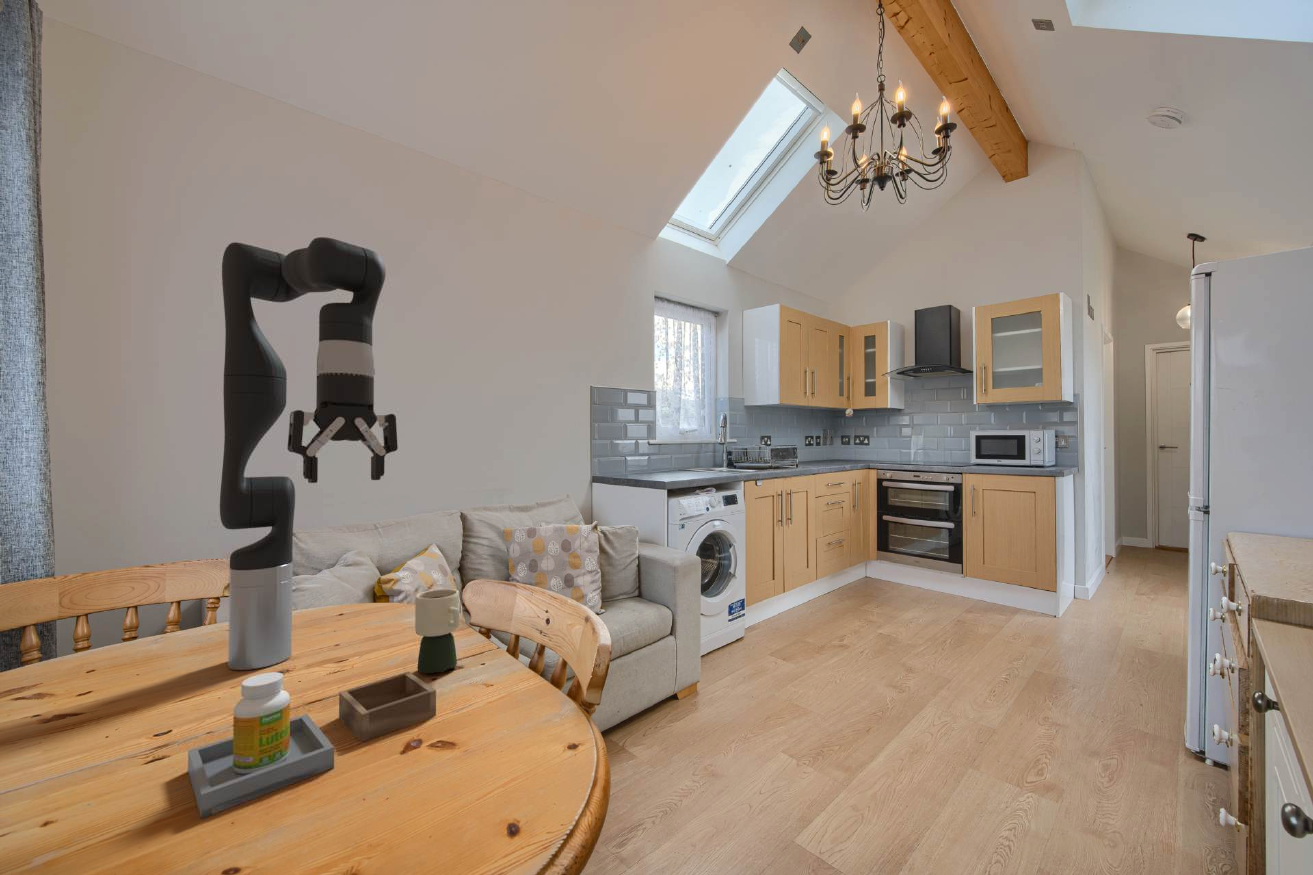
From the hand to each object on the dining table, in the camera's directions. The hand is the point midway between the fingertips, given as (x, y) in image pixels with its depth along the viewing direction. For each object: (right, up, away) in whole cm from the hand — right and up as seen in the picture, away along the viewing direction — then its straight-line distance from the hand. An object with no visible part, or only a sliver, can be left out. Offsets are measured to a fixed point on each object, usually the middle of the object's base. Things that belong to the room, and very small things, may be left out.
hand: (345, 481), depth 81 cm
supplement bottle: (0, -32, -17) cm, 36 cm away
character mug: (+9, -34, +11) cm, 37 cm away
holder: (+9, -33, -5) cm, 34 cm away
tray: (0, -33, -18) cm, 37 cm away
